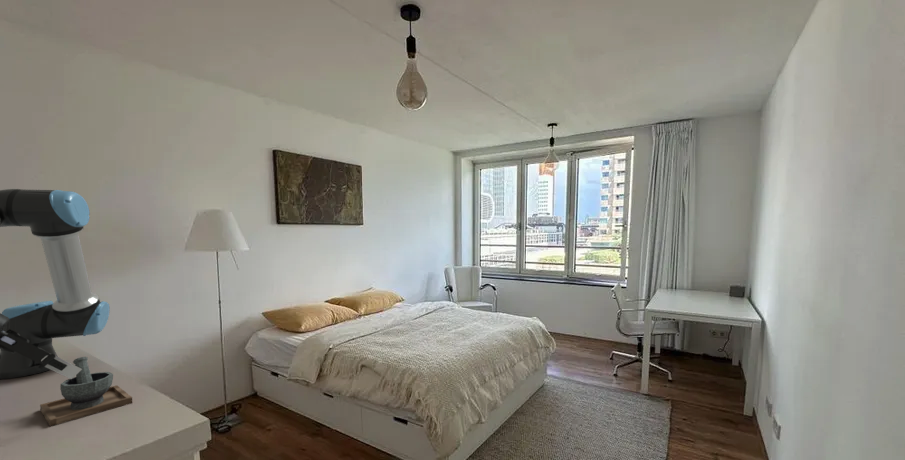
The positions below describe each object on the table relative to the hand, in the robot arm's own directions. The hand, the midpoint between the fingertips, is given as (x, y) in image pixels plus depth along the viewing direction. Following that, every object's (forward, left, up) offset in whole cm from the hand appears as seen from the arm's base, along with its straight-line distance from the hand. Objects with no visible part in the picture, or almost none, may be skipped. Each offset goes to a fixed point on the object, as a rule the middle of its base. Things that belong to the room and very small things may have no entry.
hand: (67, 369), depth 93 cm
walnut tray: (-3, +3, -11) cm, 12 cm away
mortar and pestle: (-3, +3, -11) cm, 11 cm away
